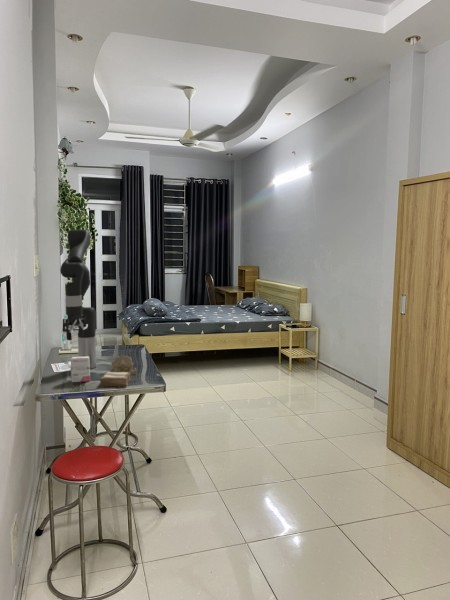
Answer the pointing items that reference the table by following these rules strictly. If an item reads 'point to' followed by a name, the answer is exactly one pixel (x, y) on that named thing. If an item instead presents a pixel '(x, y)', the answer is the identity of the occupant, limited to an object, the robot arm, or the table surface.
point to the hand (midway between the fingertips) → (75, 338)
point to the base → (115, 379)
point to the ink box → (80, 369)
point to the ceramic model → (123, 365)
